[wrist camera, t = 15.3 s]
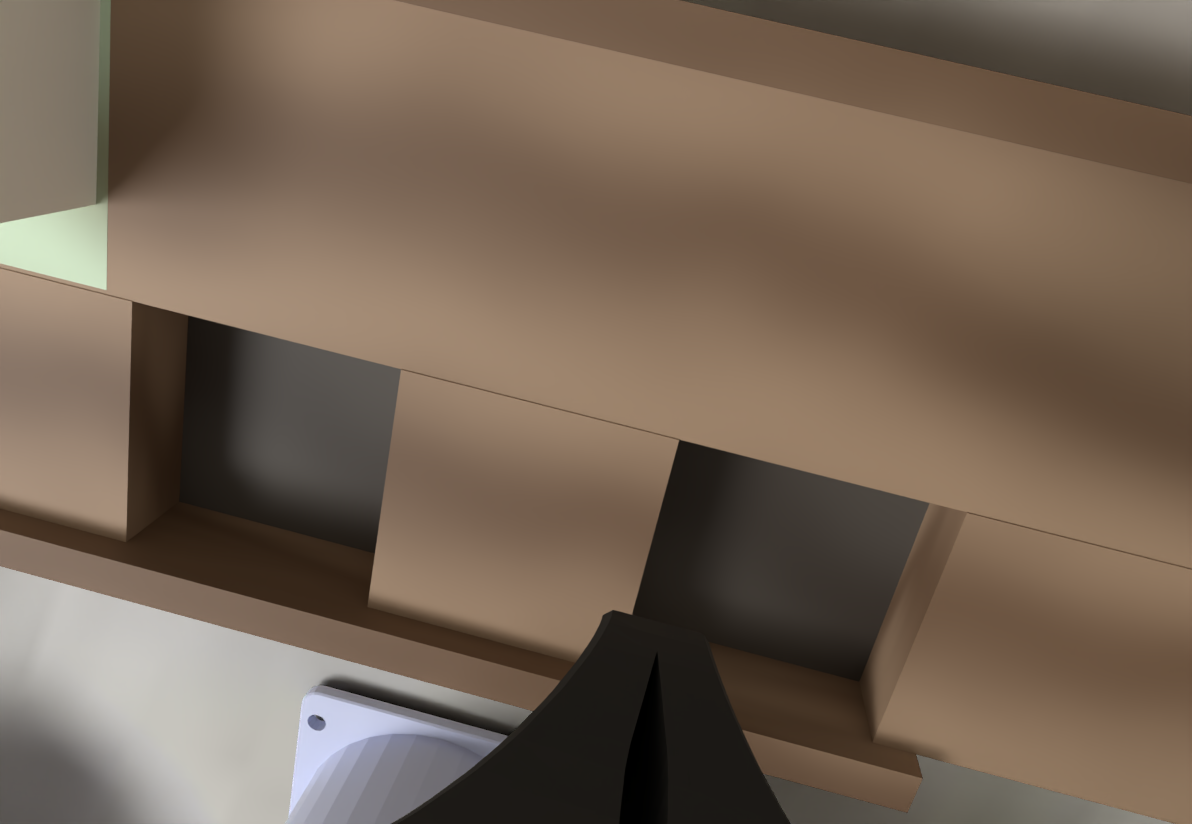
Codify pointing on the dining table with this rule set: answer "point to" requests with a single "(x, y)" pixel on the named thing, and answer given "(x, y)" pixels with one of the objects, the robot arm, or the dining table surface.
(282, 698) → the dining table surface
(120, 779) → the dining table surface
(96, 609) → the dining table surface
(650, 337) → the trap box
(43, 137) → the block
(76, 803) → the dining table surface
